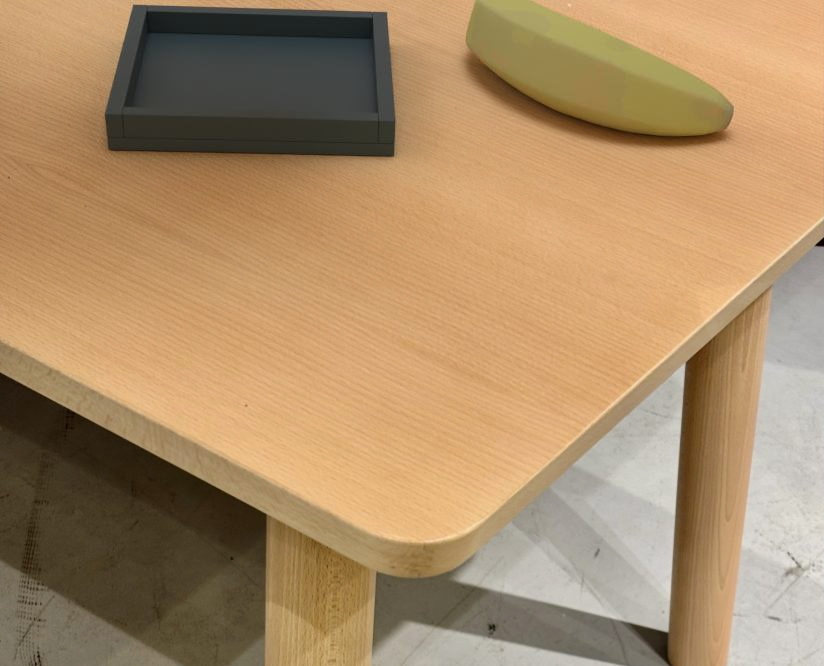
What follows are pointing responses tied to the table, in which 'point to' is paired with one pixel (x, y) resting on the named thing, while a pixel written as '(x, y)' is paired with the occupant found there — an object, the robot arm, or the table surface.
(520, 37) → the banana
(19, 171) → the table surface
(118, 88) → the tray
